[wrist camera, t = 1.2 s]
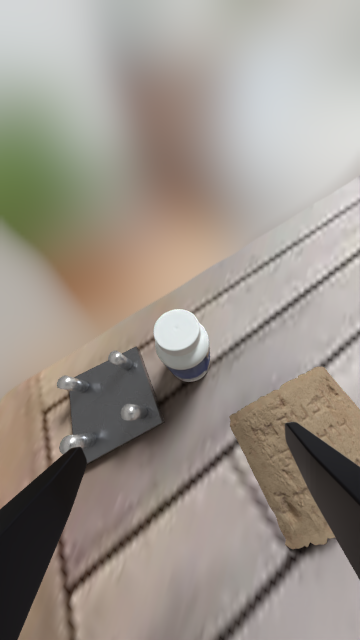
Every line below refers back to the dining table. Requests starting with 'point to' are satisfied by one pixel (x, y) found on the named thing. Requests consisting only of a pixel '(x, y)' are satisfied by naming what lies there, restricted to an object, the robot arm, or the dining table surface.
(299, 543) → the clay tablet
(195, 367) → the pill bottle
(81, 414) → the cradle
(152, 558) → the dining table surface
